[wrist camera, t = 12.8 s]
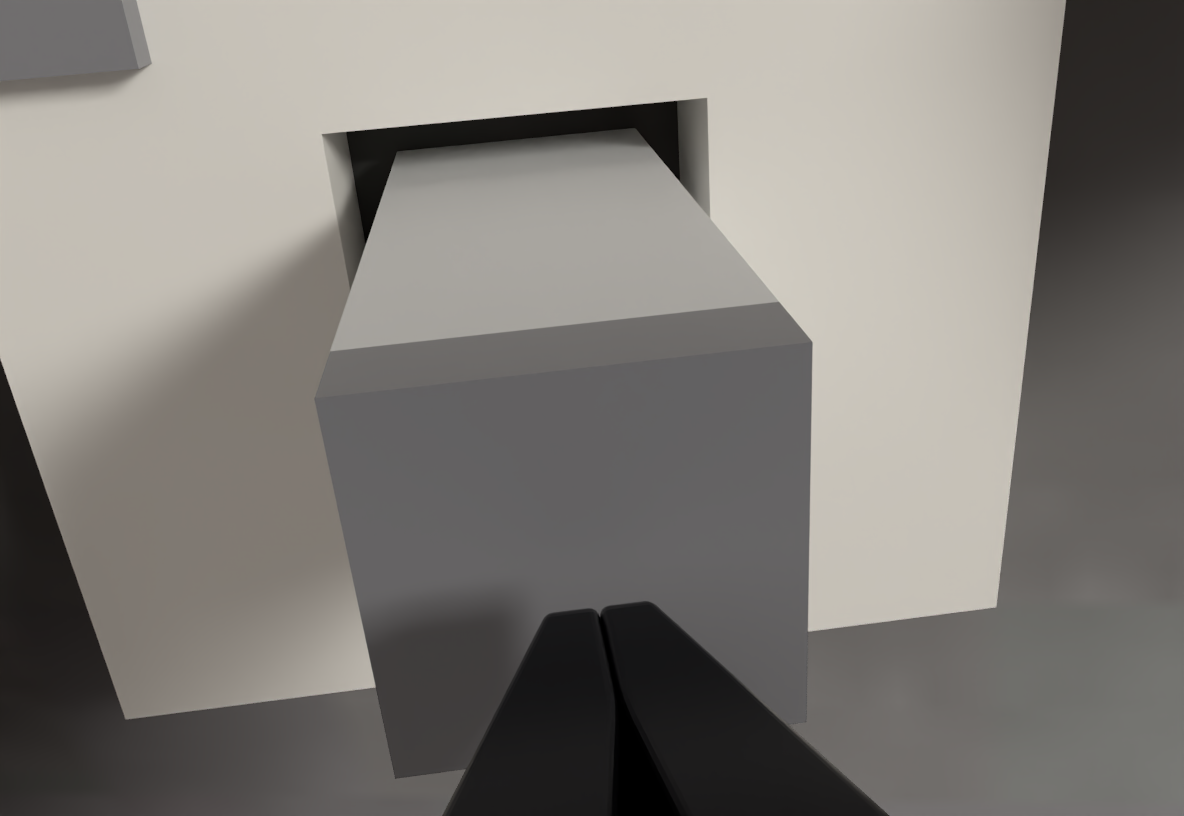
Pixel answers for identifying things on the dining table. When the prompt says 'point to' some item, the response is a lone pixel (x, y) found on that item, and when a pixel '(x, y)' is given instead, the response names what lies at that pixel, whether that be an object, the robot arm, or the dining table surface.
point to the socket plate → (336, 244)
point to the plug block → (561, 429)
